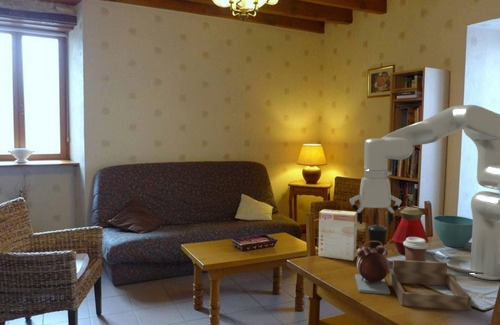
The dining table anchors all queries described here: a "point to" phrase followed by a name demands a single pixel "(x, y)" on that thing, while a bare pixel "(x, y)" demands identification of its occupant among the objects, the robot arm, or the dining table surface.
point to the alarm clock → (372, 263)
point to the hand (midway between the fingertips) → (374, 223)
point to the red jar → (409, 228)
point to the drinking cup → (377, 234)
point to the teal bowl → (453, 230)
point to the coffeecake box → (337, 234)
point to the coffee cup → (415, 249)
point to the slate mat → (371, 286)
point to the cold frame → (427, 275)
